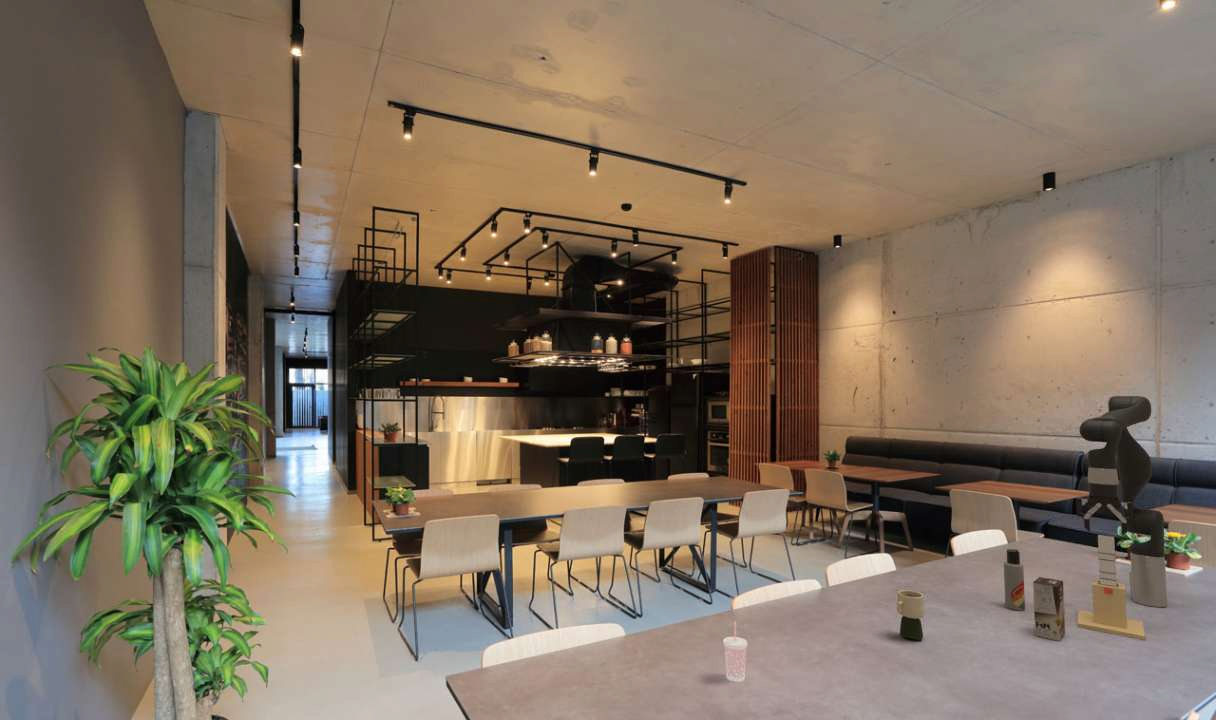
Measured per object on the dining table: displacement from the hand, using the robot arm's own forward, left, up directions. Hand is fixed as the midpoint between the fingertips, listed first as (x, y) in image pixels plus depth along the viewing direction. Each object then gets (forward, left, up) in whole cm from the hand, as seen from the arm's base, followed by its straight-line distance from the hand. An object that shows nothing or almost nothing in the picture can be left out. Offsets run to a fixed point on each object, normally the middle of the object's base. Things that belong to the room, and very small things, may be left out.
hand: (1105, 532), depth 192 cm
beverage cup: (+51, -124, -30) cm, 137 cm away
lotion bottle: (-14, -21, -30) cm, 39 cm away
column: (0, 0, -21) cm, 21 cm away
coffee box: (+10, -24, -30) cm, 39 cm away
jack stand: (0, 0, -30) cm, 30 cm away
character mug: (+18, -68, -30) cm, 76 cm away
